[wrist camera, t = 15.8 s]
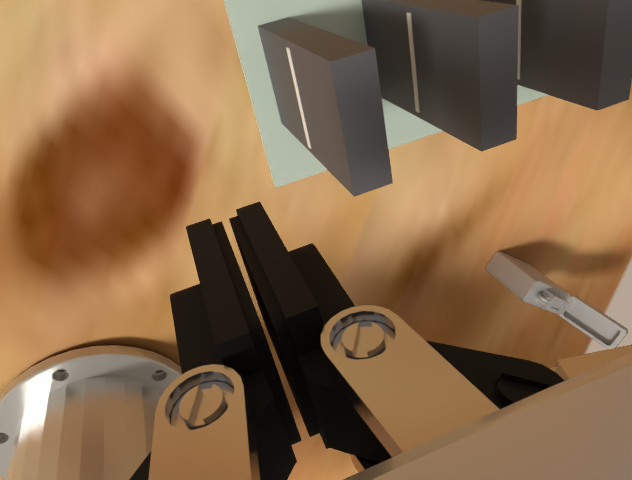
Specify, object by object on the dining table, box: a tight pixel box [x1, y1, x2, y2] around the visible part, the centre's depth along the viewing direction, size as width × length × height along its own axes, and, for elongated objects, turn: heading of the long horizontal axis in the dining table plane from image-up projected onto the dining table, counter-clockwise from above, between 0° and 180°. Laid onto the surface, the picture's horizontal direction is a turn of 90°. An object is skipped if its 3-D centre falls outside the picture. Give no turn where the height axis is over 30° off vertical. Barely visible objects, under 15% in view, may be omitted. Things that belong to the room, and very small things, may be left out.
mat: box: [223, 0, 548, 188], centre depth 29 cm, size 10×27×1 cm, turn 102°
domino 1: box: [258, 17, 393, 196], centre depth 22 cm, size 2×5×10 cm, turn 12°
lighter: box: [486, 251, 628, 349], centre depth 37 cm, size 7×2×8 cm, turn 60°
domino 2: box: [361, 0, 519, 151], centre depth 23 cm, size 2×5×10 cm, turn 12°
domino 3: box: [481, 0, 632, 110], centre depth 24 cm, size 2×5×10 cm, turn 12°
